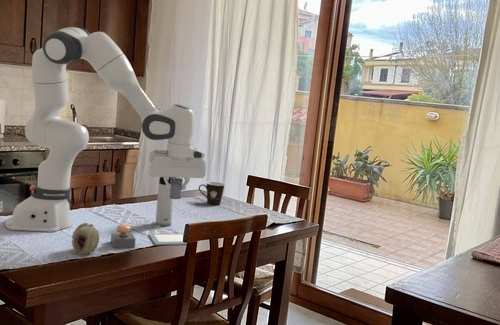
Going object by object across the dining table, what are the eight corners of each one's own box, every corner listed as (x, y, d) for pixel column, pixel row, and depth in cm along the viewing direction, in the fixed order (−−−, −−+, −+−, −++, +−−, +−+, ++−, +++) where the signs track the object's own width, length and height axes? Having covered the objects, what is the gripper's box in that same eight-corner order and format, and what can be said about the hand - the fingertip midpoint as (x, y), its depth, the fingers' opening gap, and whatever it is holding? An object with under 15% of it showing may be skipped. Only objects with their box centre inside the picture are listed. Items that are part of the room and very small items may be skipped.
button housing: (113, 248, 174) (114, 239, 174) (110, 241, 181) (111, 233, 180) (134, 247, 177) (135, 239, 177) (131, 241, 184) (131, 232, 183)
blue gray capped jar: (170, 199, 185) (172, 179, 184) (167, 196, 188) (169, 177, 187) (182, 199, 186) (183, 180, 185) (179, 196, 190) (180, 177, 189)
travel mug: (168, 227, 205) (173, 177, 202) (152, 224, 206) (157, 175, 203) (174, 223, 211) (178, 175, 208) (158, 221, 212) (163, 173, 209)
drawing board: (155, 245, 182) (155, 243, 182) (148, 235, 192) (149, 233, 192) (193, 244, 188) (194, 242, 187) (185, 235, 197) (185, 233, 197)
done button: (117, 241, 176) (118, 228, 175) (115, 237, 180) (116, 224, 179) (130, 241, 178) (131, 228, 177) (128, 237, 182) (129, 224, 181)
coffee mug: (225, 204, 255) (228, 184, 253) (215, 206, 247) (217, 186, 246) (206, 199, 261) (208, 179, 259) (196, 201, 253) (198, 181, 252)
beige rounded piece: (72, 256, 170) (68, 225, 170) (99, 251, 173) (95, 221, 174) (74, 257, 161) (70, 225, 162) (102, 251, 164) (98, 220, 165)
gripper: (152, 151, 178) (148, 190, 180) (209, 154, 186) (205, 192, 188) (148, 148, 184) (145, 186, 186) (203, 151, 192) (200, 188, 194)
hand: (175, 189), depth 187 cm, fingers closed on blue gray capped jar, 4 cm apart
